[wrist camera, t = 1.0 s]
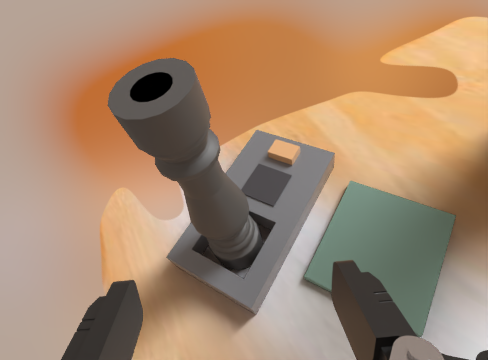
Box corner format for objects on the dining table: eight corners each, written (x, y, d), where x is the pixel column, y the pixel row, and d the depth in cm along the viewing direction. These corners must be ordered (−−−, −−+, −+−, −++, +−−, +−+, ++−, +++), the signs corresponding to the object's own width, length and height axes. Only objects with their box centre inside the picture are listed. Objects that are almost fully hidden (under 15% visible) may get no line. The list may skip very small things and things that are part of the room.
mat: (349, 184, 40) (350, 180, 40) (453, 219, 35) (456, 215, 34) (304, 279, 35) (304, 276, 34) (419, 337, 29) (422, 335, 29)
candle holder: (207, 260, 38) (83, 115, 18) (227, 218, 41) (139, 53, 21) (252, 276, 36) (166, 130, 16) (270, 230, 39) (216, 58, 19)
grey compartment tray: (259, 143, 48) (255, 124, 44) (333, 166, 42) (335, 147, 39) (175, 265, 39) (162, 253, 36) (256, 314, 34) (249, 305, 30)
